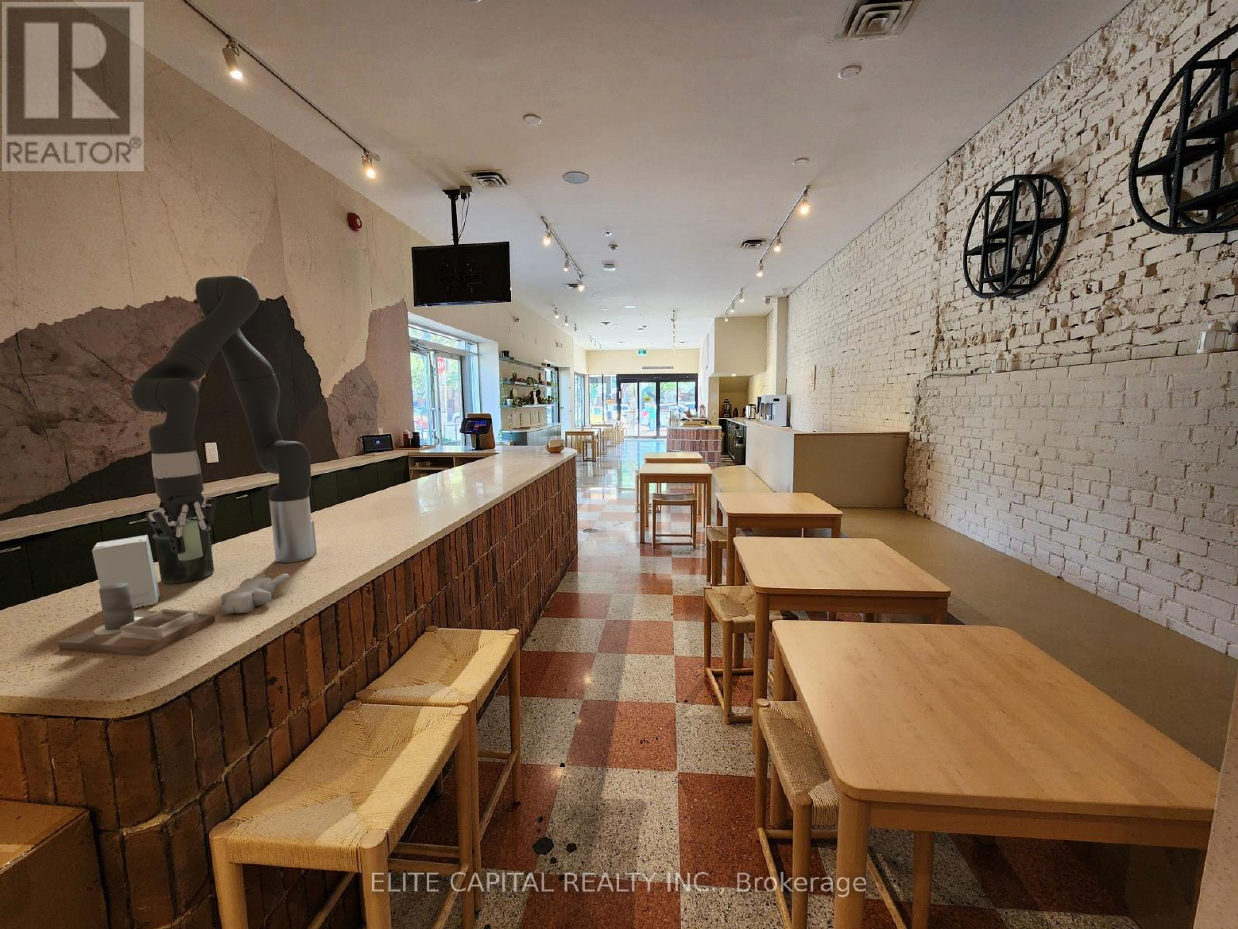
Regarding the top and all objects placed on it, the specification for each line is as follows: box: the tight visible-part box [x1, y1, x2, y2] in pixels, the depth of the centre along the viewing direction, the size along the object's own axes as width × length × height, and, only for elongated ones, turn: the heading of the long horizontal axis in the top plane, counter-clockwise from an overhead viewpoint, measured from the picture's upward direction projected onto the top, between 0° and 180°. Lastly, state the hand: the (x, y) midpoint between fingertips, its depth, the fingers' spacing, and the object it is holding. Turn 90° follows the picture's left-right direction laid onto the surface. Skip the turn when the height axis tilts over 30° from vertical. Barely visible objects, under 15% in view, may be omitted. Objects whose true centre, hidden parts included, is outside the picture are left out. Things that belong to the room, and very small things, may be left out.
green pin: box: [174, 520, 203, 561], centre depth 105 cm, size 4×4×8 cm
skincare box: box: [91, 534, 160, 610], centre depth 104 cm, size 8×6×15 cm
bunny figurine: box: [220, 573, 291, 615], centre depth 107 cm, size 10×5×15 cm
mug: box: [152, 525, 215, 585], centre depth 123 cm, size 11×15×12 cm
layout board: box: [57, 583, 216, 657], centre depth 92 cm, size 13×18×10 cm
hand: (189, 549), depth 106 cm, fingers closed on green pin, 4 cm apart
